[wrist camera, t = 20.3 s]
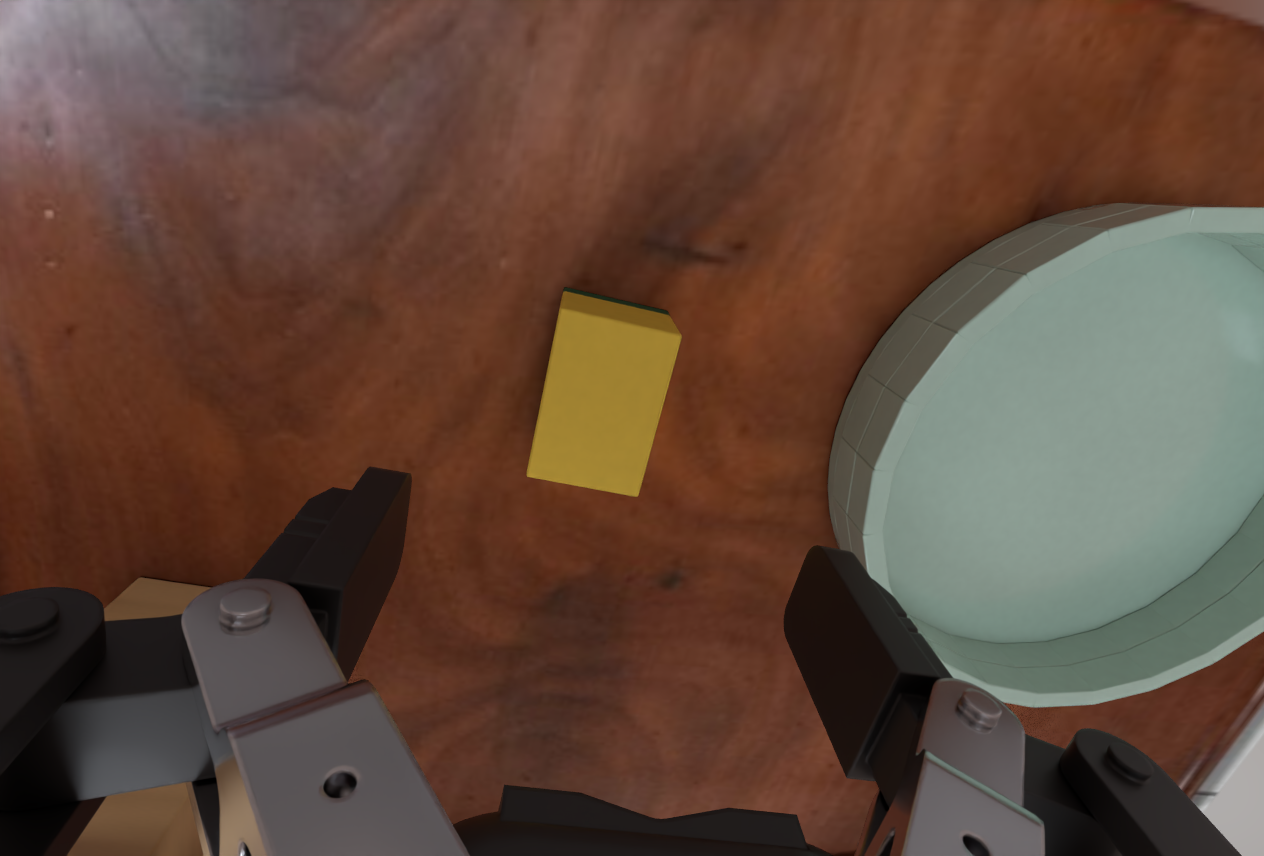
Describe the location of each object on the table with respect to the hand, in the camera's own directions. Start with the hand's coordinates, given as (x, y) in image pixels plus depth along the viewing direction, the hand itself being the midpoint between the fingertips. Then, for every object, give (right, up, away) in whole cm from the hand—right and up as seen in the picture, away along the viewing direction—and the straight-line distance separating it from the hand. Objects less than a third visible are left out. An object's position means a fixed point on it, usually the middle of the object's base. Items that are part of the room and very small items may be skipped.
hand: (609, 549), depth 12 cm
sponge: (-1, +4, +12) cm, 13 cm away
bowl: (+19, +1, +15) cm, 24 cm away
